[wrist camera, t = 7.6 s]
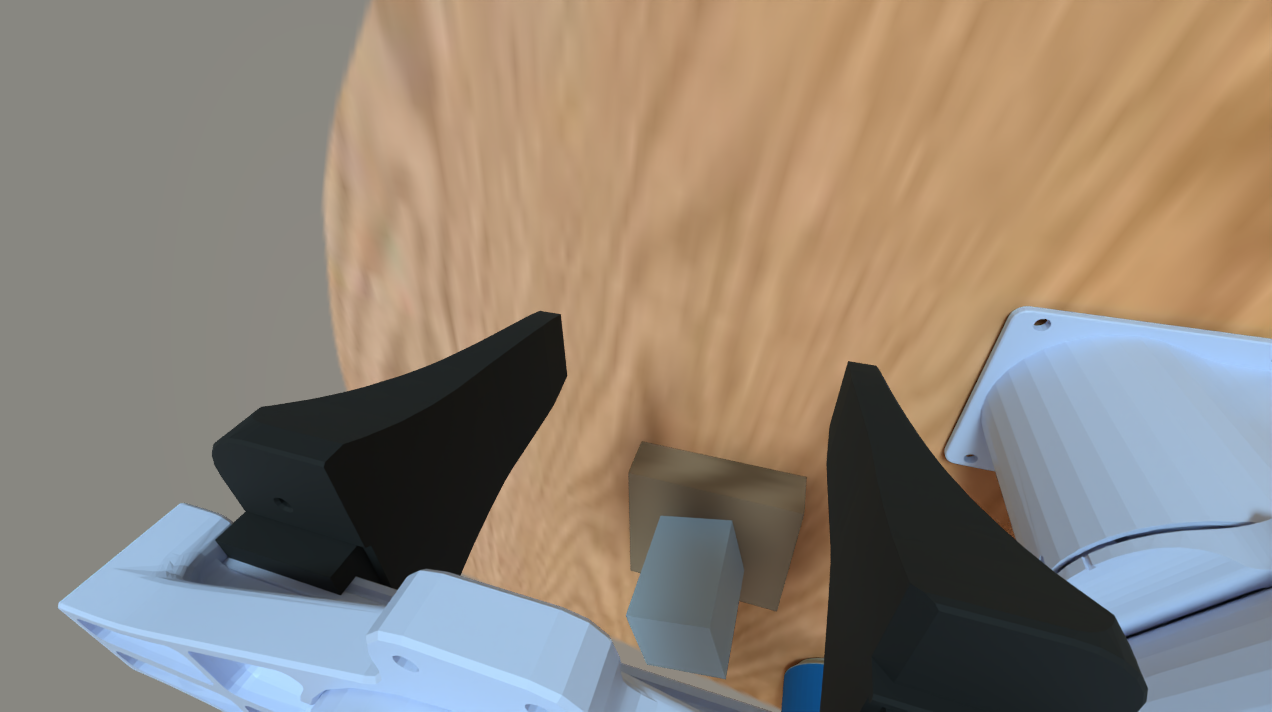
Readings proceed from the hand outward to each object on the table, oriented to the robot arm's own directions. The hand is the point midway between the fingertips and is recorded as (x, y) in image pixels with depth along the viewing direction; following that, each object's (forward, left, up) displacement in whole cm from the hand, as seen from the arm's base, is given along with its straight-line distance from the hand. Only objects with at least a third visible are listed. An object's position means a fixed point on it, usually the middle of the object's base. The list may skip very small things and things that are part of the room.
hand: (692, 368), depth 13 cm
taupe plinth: (0, +18, -10) cm, 21 cm away
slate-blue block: (0, +18, -8) cm, 19 cm away
